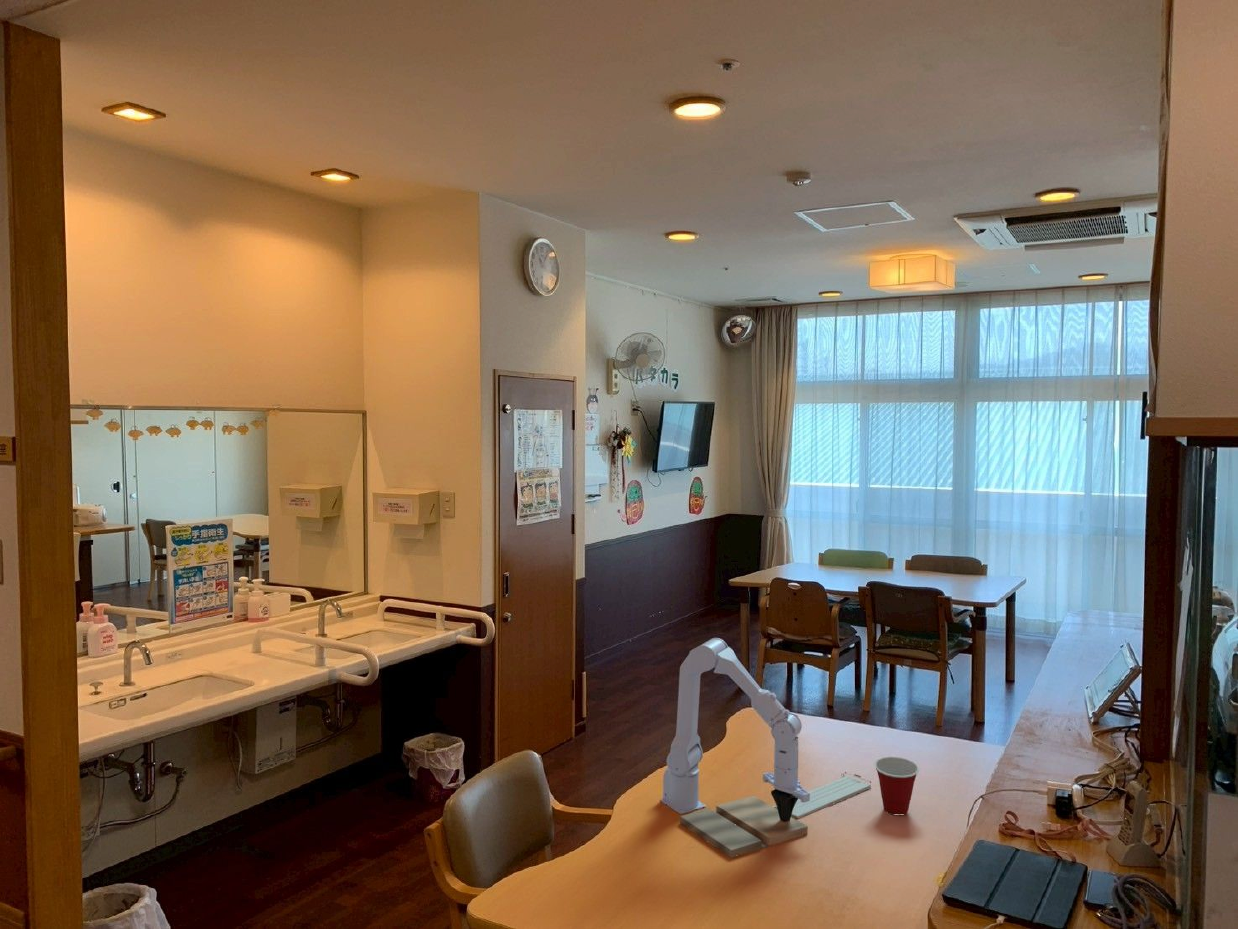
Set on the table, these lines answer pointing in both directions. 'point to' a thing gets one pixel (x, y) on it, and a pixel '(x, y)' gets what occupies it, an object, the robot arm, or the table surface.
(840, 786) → the baseboard
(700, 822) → the floor panel
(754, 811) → the plank
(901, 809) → the plastic cup
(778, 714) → the robot arm
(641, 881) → the table surface
